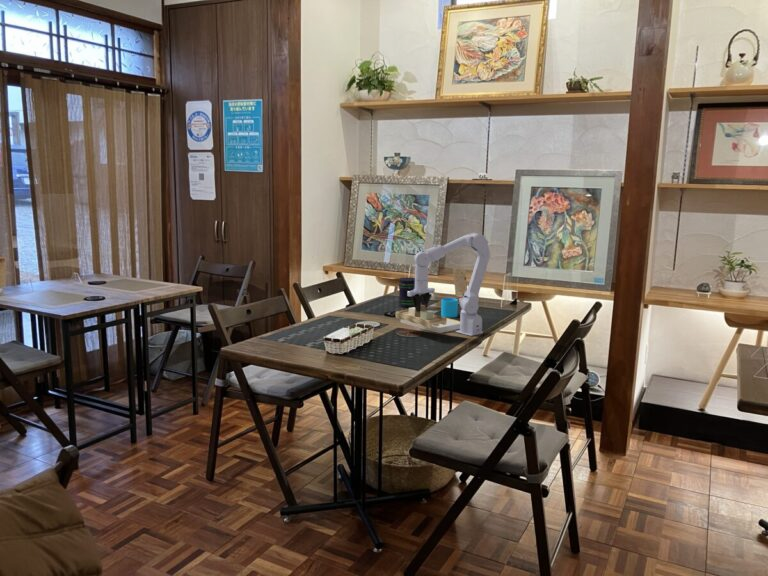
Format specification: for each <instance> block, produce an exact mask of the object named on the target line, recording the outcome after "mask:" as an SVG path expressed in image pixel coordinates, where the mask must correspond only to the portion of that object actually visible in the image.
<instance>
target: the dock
mask: <svg viewBox="0 0 768 576" xmlns="http://www.w3.org/2000/svg"><path fill="white" fill-rule="evenodd" d="M444 318H447V322H446V325H443V324H439V326H434V325H432V328H429V327H426V326H422V325H419V324H415V323H412V322H409V321H405V320H402V319H400V323H401V324H405V325H408V326H412V327H415V328H419V329H424V330H426V331H430V332H434V333H437V334H442V333H447V332H452V331H457V330H460V320H457V319H452V318H450V317H444Z"/></svg>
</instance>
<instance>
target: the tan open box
mask: <svg viewBox="0 0 768 576" xmlns="http://www.w3.org/2000/svg"><path fill="white" fill-rule="evenodd" d="M425 310H427V308H426V306H425V305H422V304H421V308H420V311H425ZM395 318H396V319H399V320H401V319H402V320H405V321H409V322H412V323H415V324H419V325H422V326H426V327H429V328H432V325H434V326H439V324H443V325H446V322H447V318H448V317H445V318H444V317H443V316H441V315H437V314H433V319H429V320H425V319H422V318H420V312H418V311H416V316H411V315H409V309H404V310H398V311H395Z"/></svg>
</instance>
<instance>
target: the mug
mask: <svg viewBox="0 0 768 576" xmlns="http://www.w3.org/2000/svg"><path fill="white" fill-rule="evenodd" d="M458 303H459V299H457V298H454V297H445V298H441V303H440V304H441V305H440V307H441V309H440V311H441V312H440V316H441V317H445V318H456V317H457V318H458V308H459V307H458V306H459V304H458Z"/></svg>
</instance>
